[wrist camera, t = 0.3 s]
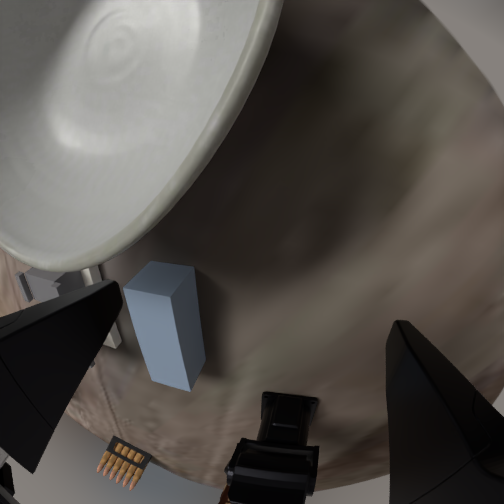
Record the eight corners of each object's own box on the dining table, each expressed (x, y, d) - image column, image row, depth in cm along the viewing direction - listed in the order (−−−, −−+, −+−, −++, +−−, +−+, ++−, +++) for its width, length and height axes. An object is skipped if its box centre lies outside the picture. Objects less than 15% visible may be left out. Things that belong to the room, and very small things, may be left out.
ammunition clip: (114, 437, 56) (94, 471, 45) (113, 435, 55) (93, 469, 44) (151, 456, 55) (133, 492, 45) (152, 454, 54) (133, 491, 44)
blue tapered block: (206, 358, 31) (190, 391, 26) (170, 350, 32) (152, 380, 27) (195, 265, 25) (170, 297, 21) (151, 259, 26) (122, 287, 22)
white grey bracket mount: (121, 341, 33) (96, 374, 28) (75, 325, 35) (49, 352, 29) (93, 249, 27) (54, 279, 22) (46, 242, 29) (11, 266, 24)
